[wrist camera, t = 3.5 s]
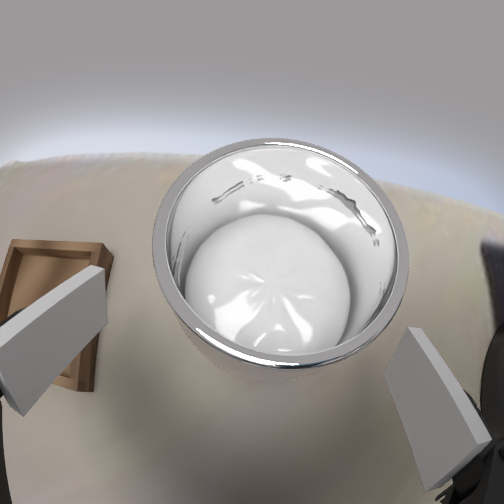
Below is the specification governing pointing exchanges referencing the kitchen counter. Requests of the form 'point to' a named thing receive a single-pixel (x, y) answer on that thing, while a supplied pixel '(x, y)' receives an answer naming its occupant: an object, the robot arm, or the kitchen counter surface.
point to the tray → (46, 279)
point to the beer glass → (279, 258)
